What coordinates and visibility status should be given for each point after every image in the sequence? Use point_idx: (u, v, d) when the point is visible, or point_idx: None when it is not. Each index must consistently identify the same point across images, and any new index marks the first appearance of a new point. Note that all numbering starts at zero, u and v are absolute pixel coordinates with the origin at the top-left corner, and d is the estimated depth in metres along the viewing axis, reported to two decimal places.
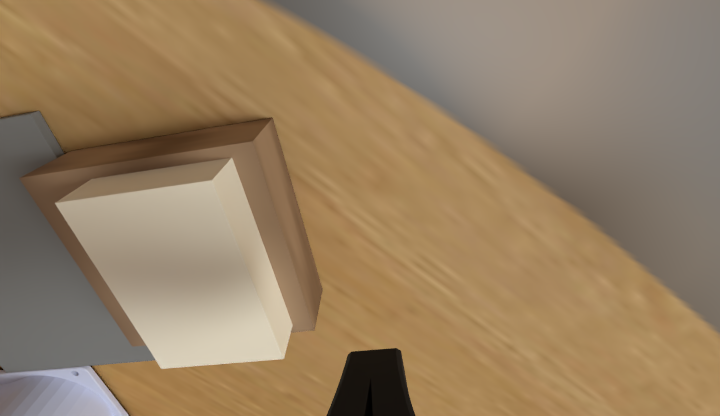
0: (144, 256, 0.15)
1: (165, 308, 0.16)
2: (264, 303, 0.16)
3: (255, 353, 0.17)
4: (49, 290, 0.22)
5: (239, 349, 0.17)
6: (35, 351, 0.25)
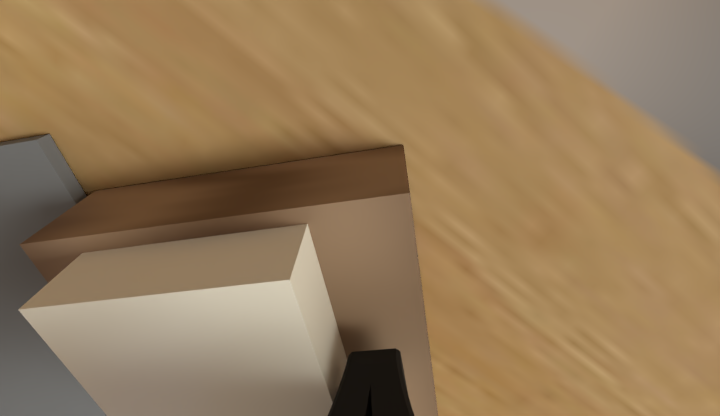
0: (167, 383, 0.09)
1: None
2: None
3: None
4: (61, 368, 0.16)
5: None
6: None
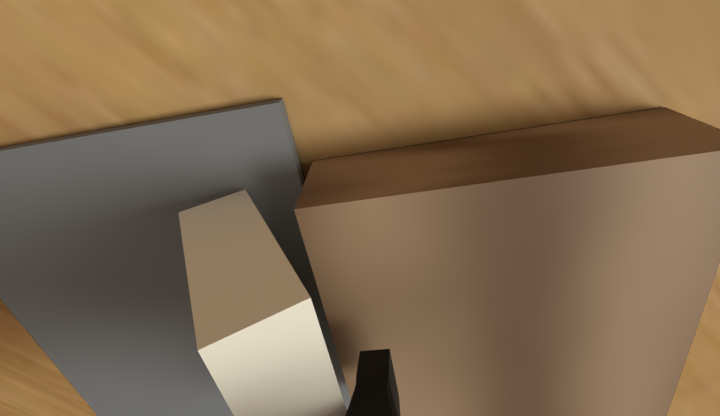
0: None
1: None
2: None
3: None
4: None
5: None
6: None
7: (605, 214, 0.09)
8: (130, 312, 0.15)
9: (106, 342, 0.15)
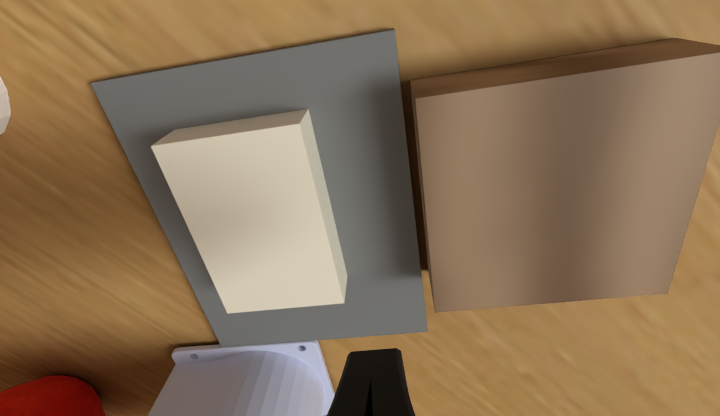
0: None
1: None
2: None
3: None
4: None
5: None
6: (266, 323, 0.22)
7: (634, 103, 0.13)
8: None
9: None
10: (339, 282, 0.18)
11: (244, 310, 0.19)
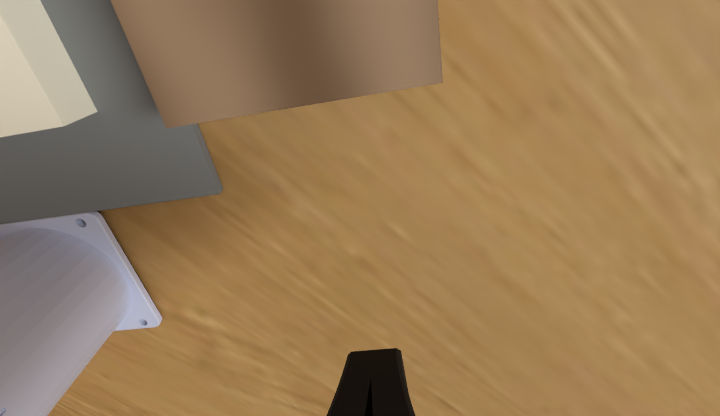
0: None
1: None
2: None
3: None
4: None
5: None
6: (28, 187, 0.18)
7: None
8: None
9: None
10: (48, 93, 0.14)
11: None
